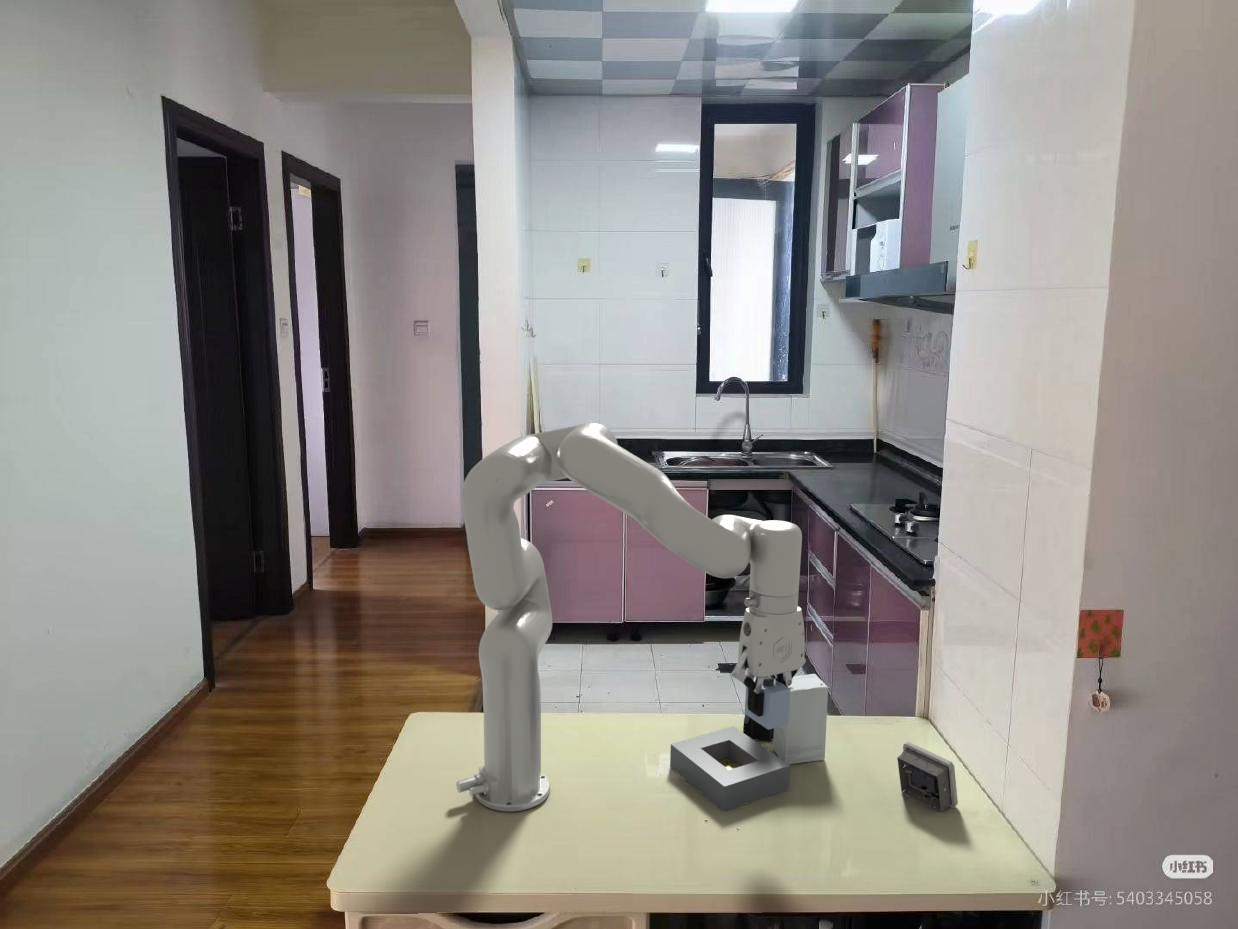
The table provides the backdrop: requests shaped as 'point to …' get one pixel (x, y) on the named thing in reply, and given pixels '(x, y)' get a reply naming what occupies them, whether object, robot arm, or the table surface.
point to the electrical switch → (927, 777)
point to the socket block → (729, 767)
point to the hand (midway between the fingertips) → (767, 708)
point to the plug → (772, 704)
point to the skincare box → (804, 722)
